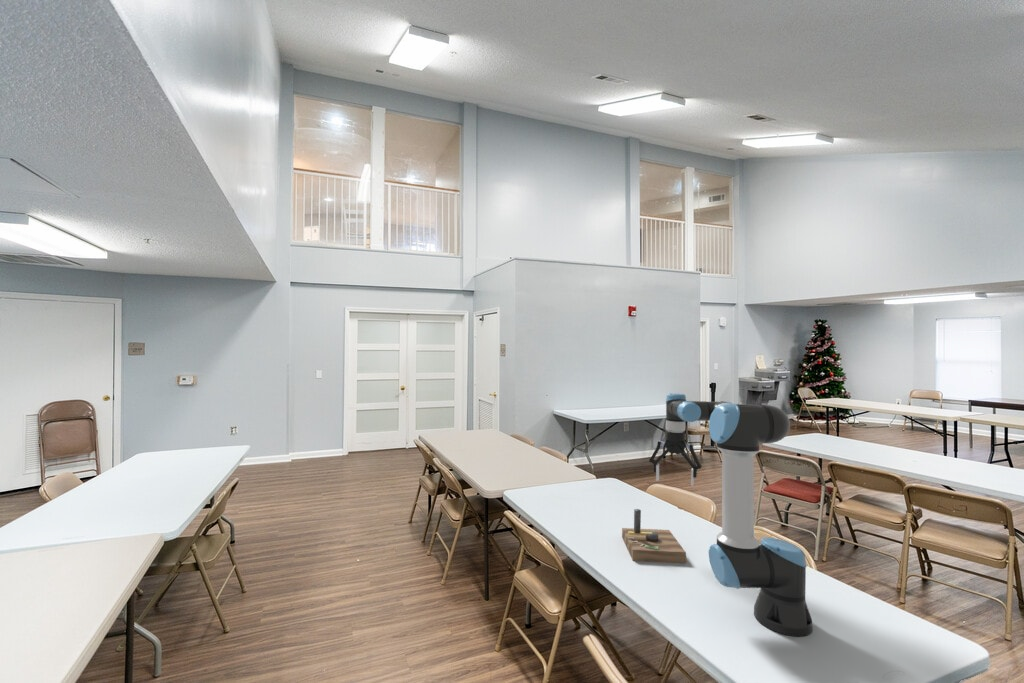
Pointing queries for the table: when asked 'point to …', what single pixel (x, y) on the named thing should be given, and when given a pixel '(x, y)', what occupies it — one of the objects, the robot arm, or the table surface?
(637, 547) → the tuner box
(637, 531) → the dark grey lever
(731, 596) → the table surface
